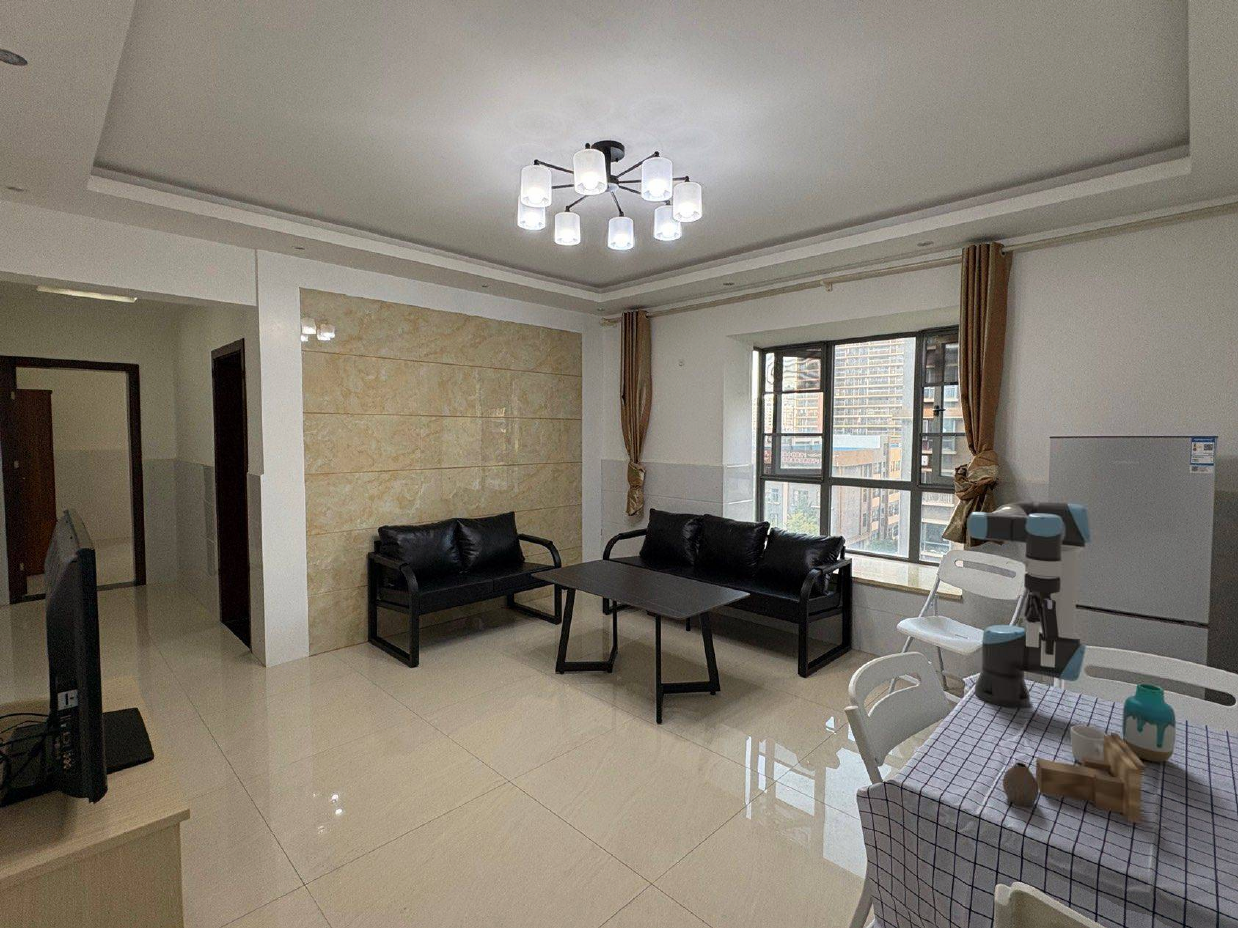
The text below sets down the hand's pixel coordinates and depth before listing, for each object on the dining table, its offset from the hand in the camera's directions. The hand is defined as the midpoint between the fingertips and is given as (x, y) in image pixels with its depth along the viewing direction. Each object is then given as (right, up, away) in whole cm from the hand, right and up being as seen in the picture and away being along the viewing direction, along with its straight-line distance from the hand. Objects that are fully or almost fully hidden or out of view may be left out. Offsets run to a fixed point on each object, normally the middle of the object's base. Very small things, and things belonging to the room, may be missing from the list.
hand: (1039, 655), depth 155 cm
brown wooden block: (0, -29, -11) cm, 31 cm away
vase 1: (-15, -30, -15) cm, 36 cm away
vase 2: (+32, -29, +5) cm, 43 cm away
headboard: (+6, -29, -14) cm, 33 cm away
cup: (+14, -29, +1) cm, 32 cm away
